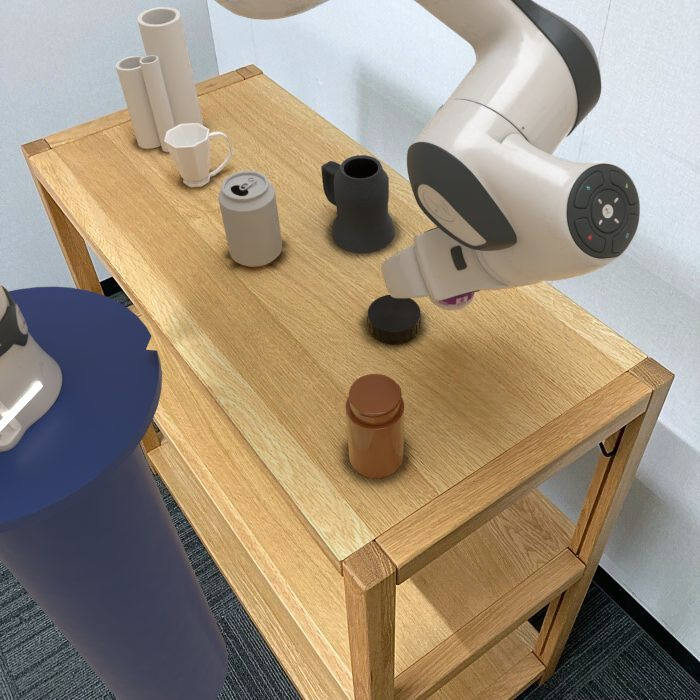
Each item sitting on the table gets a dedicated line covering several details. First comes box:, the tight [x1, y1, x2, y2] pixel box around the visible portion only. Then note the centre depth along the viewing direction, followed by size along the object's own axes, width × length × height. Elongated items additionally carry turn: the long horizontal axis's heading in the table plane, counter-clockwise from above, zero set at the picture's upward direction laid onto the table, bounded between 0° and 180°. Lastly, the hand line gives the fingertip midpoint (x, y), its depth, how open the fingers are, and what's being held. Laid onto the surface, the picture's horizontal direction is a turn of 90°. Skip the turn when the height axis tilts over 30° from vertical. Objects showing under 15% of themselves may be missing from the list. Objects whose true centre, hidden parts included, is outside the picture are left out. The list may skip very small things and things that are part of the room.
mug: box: [321, 154, 395, 254], centre depth 106 cm, size 12×9×11 cm
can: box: [217, 170, 283, 268], centre depth 103 cm, size 8×8×12 cm
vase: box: [115, 6, 205, 153], centre depth 120 cm, size 11×7×20 cm, turn 122°
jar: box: [345, 373, 405, 479], centre depth 79 cm, size 6×6×11 cm
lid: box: [366, 294, 422, 345], centre depth 96 cm, size 7×7×2 cm
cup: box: [164, 123, 234, 188], centre depth 117 cm, size 7×10×8 cm
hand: (450, 258), depth 84 cm, fingers closed on pill bottle, 5 cm apart
